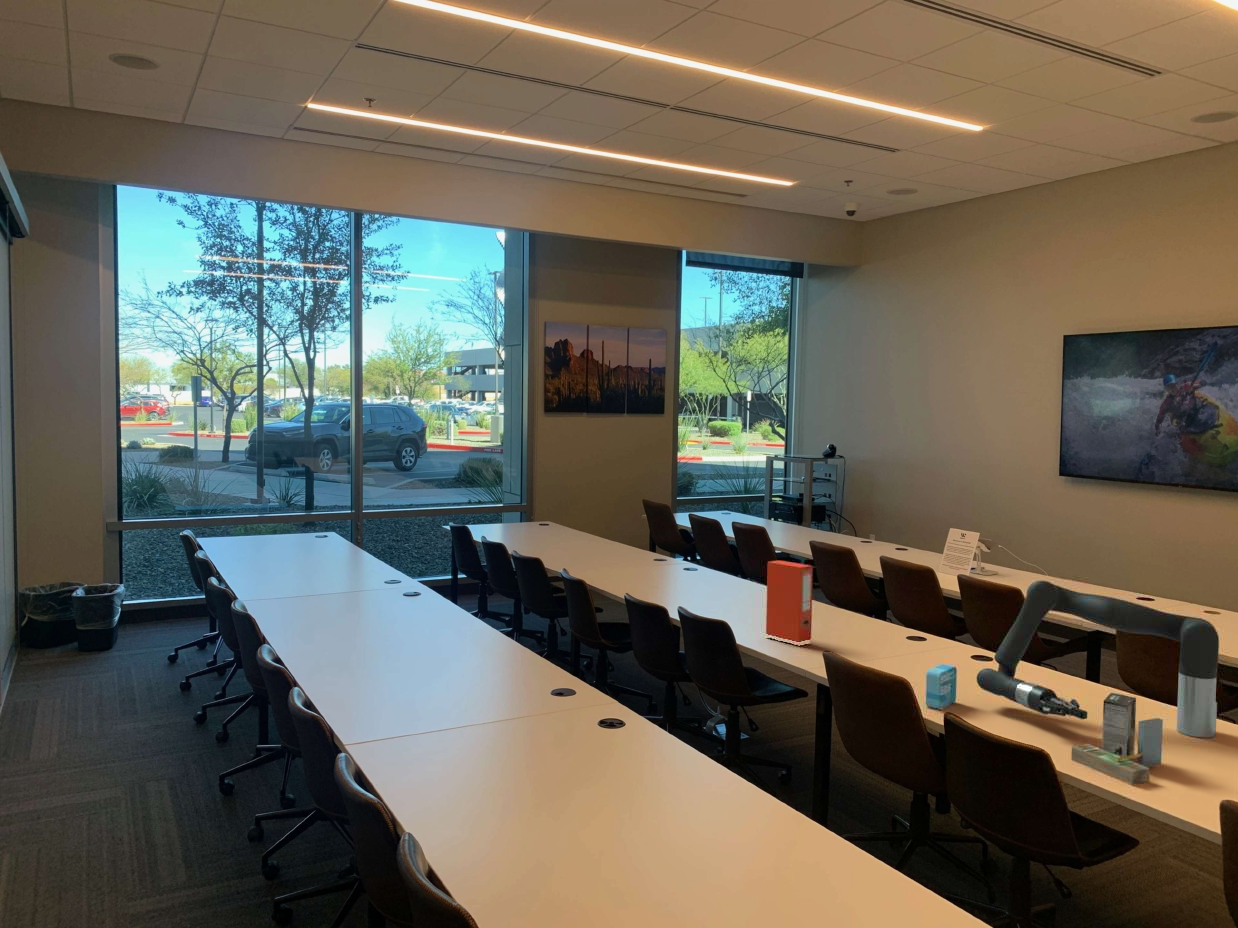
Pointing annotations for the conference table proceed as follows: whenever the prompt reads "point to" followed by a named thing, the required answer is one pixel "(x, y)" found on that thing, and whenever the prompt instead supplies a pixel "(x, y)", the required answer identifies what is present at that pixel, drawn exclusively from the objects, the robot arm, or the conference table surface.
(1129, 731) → the coffee box
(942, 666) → the data package
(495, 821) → the conference table surface
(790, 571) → the file binder
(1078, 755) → the frame
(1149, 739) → the blue-grey flat panel
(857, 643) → the conference table surface
